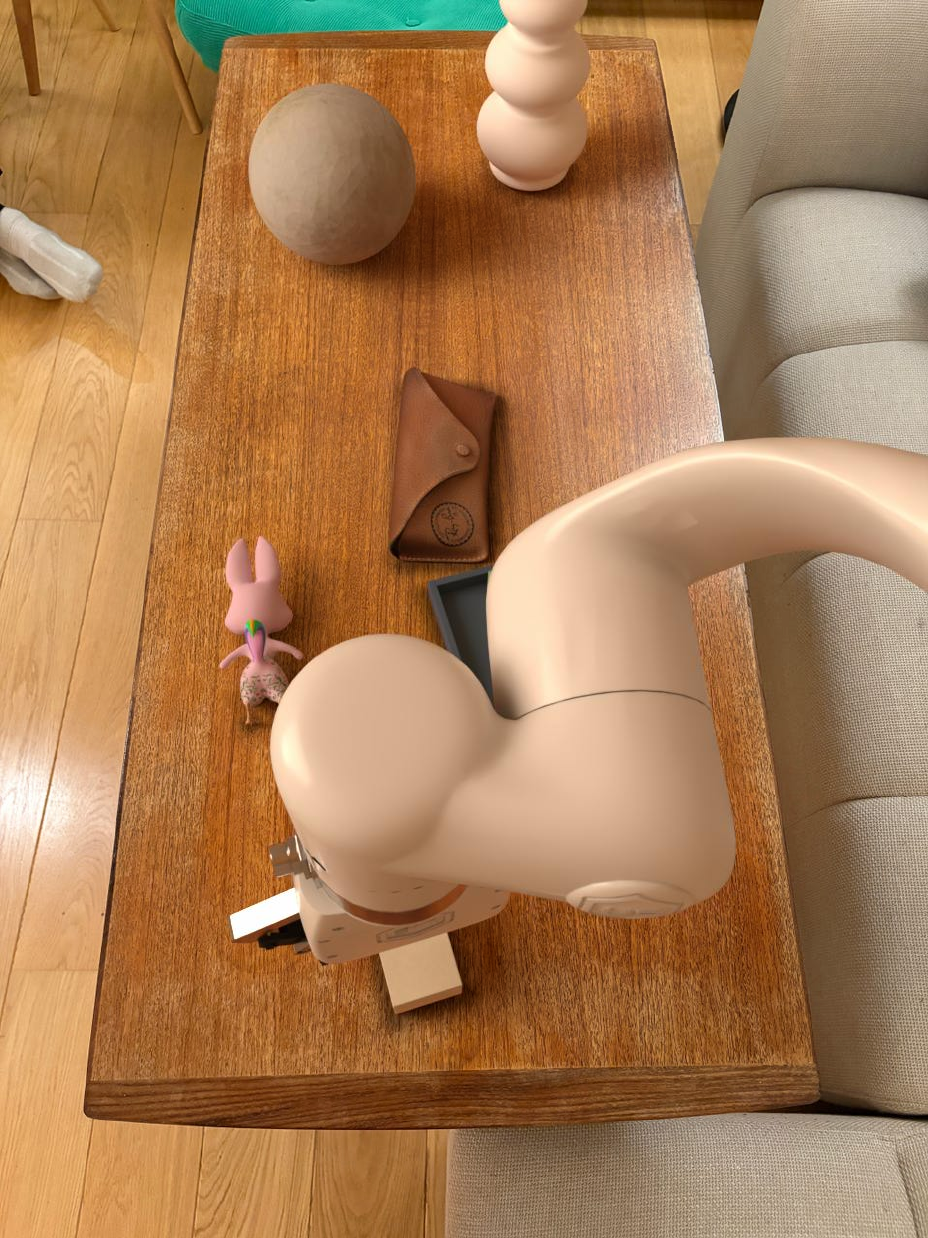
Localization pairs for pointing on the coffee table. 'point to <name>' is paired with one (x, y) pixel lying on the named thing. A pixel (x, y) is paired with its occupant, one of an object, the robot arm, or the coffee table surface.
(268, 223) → the decorative sphere
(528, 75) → the vase
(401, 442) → the sunglasses case
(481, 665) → the tray
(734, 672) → the coffee table surface
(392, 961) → the cream pad
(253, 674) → the rabbit figure
